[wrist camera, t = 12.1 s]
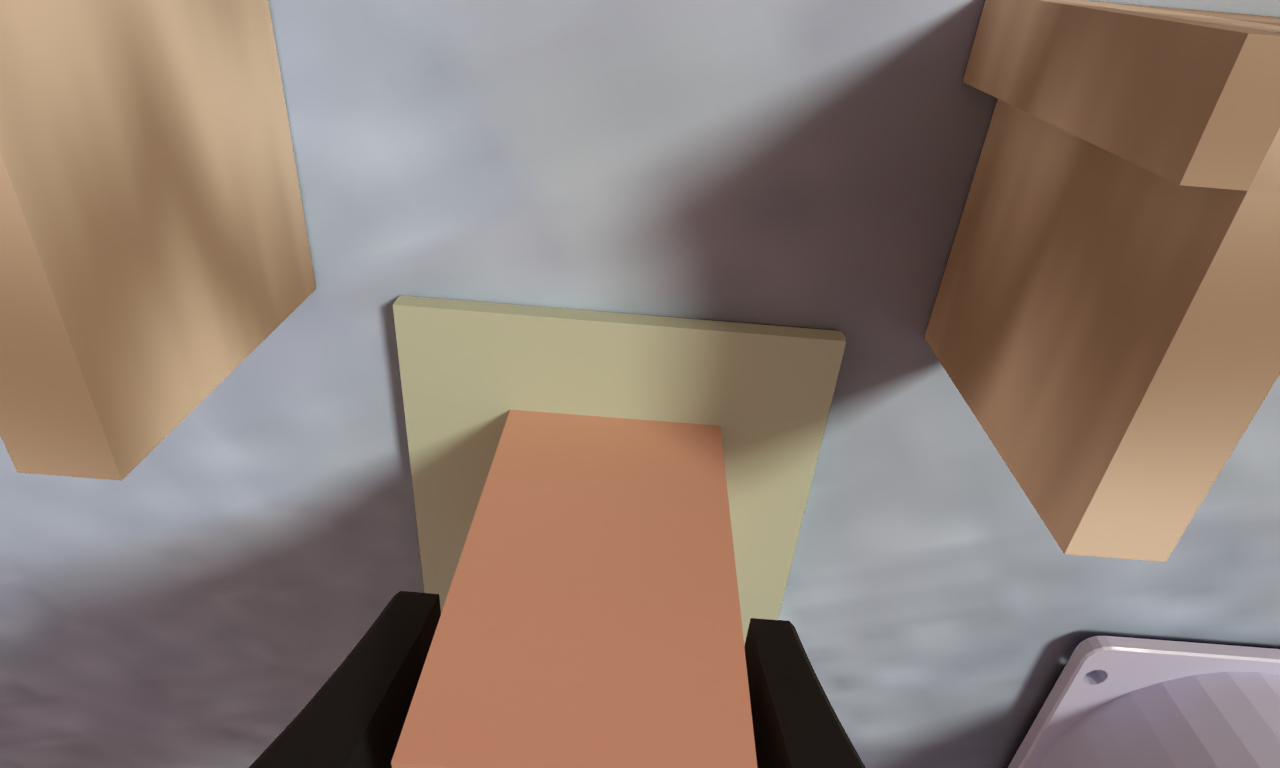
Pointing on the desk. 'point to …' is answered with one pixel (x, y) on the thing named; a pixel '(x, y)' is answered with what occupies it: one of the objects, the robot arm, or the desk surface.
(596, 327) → the sage mat
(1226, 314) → the wooden channel
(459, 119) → the desk surface
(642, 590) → the terracotta block
